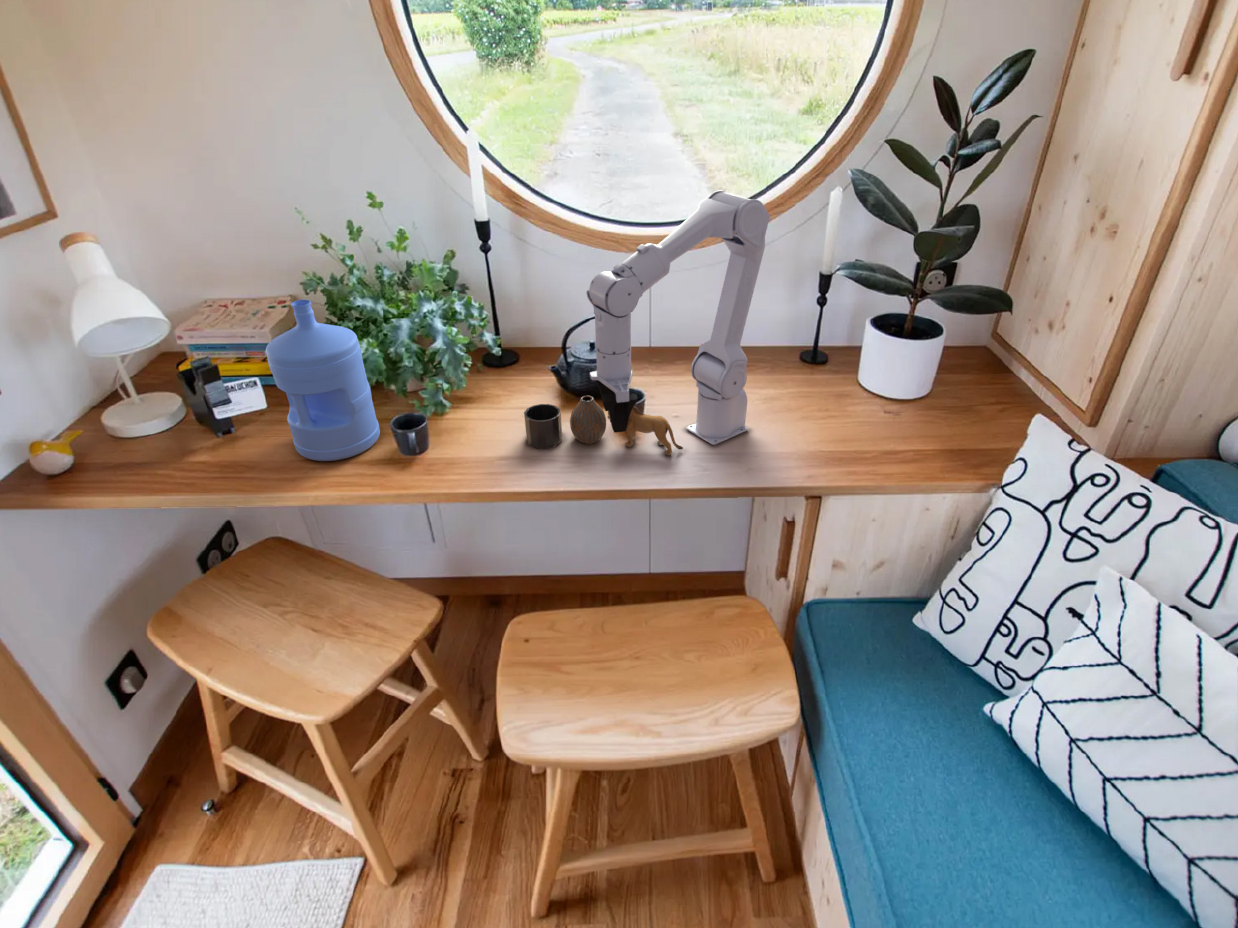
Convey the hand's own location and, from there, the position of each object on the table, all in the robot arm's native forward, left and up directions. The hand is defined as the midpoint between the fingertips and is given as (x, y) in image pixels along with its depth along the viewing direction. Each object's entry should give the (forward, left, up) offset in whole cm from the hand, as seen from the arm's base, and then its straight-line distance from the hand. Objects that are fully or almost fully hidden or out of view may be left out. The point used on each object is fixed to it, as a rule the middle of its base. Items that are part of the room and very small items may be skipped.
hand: (615, 420), depth 119 cm
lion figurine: (-8, -3, -10) cm, 13 cm away
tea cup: (+5, -16, -10) cm, 20 cm away
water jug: (+37, -40, -10) cm, 56 cm away
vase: (-2, -11, -10) cm, 15 cm away
